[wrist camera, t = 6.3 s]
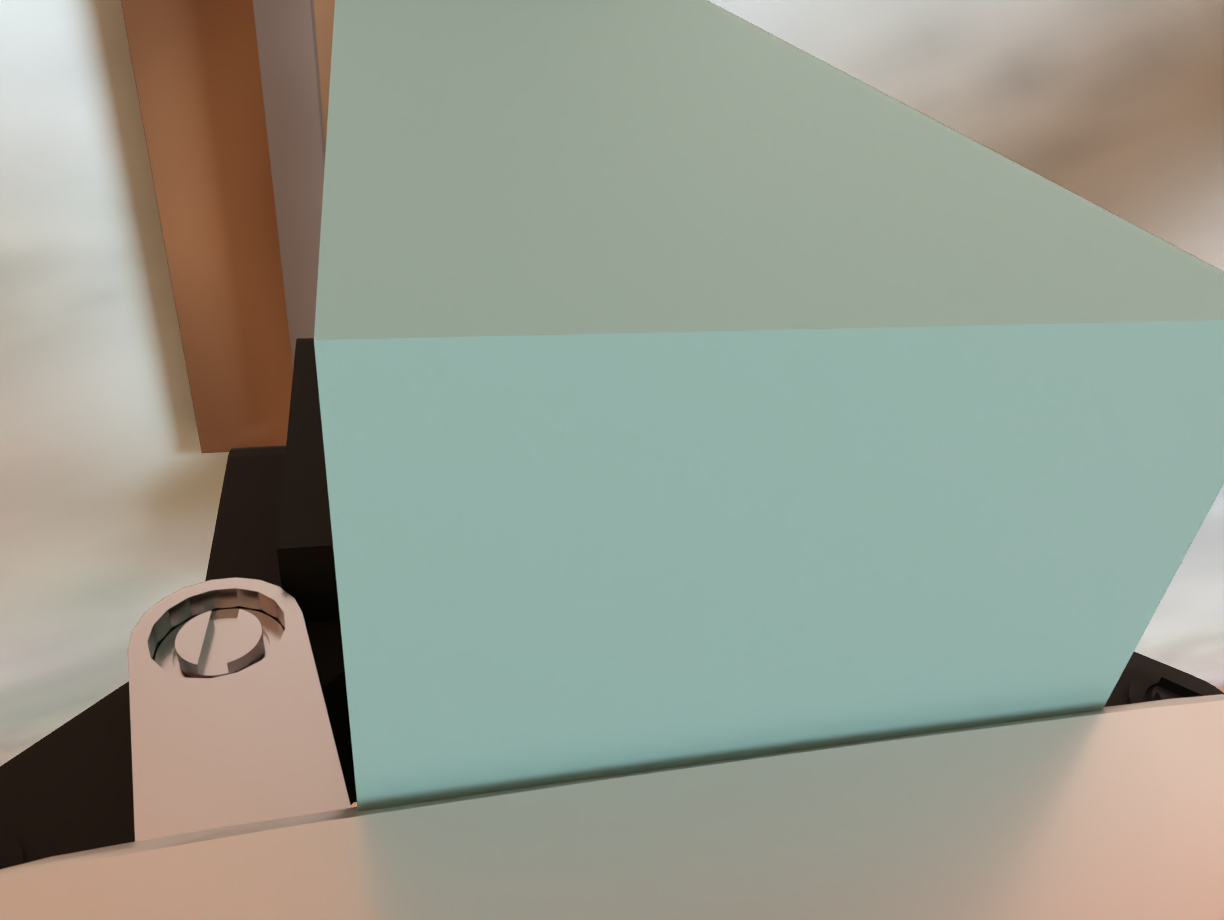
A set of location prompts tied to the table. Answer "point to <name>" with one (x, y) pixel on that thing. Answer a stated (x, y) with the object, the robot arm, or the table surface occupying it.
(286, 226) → the brown wooden holder
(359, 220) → the door panel
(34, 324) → the table surface
